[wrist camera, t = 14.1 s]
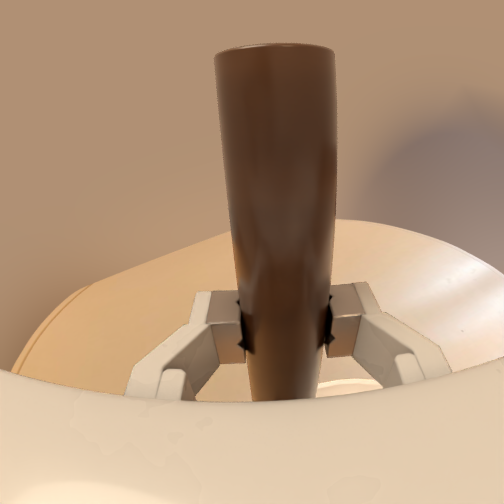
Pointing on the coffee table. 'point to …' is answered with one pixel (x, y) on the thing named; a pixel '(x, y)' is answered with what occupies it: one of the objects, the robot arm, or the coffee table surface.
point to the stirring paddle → (280, 205)
